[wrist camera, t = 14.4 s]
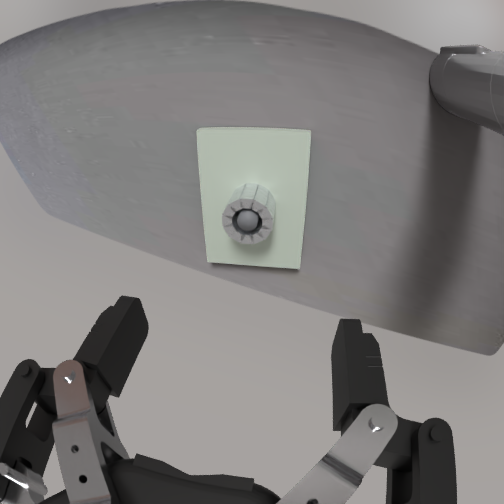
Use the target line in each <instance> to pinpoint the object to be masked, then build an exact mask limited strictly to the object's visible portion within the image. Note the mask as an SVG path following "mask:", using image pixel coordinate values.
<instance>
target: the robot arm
mask: <svg viewBox="0 0 504 504" xmlns="http://www.w3.org/2000/svg"><path fill="white" fill-rule="evenodd" d="M440 50H441V51H440V55H439V56H438V57H437V58H436V59H435V60H434V62H433V64H432V66H431V70H430V85H431V89H432V92H433V94H434V96H435V98H436V100H437V101H438V103H439V104H440V105H441V106H442V107H443V108H444V109H445V110H446V111H448V112H449V113H451V114H454V115H456V116H458V117H461V118H464V119H467V120H469V121H472V122H474V123H477V124H479V125H481V126H484V127H486V128H488V129H491V130H493V131H495V132H497V133H499V134H502V135H504V52H497V51H491V50H489V49H487V48H485V47H483V46H480V45H461V46H447V47H441V49H440ZM147 334H148V321H147V318H146V316H145V313H144V310H143V307H142V304H141V301H140V299H139V298H135V297H128V296H121V297H120V298H119V299H118V301H117V302H116V304H115V305H114V306H110V307H108V308H107V309H106V310H105V311H104V312H103V313H101V315H100V316H99V318H98V319H97V321H96V324H95V325H94V326H93V327H92V329H91V332H89V334H88V335H87V337H86V339H85V340H84V342H83V344H82V345H81V347H80V349H79V350H78V352H77V354H76V356H75V357H74V358H73V360H66V361H64V362H62V363H61V364H59V365H58V366H57V368H40V366H39V365H38V364H37V362H36V361H34V360H32V359H27V360H24V361H22V362H21V363H20V364H19V365H18V366H17V367H16V369H15V371H14V372H13V374H12V376H11V378H10V380H9V382H8V384H7V386H6V388H5V389H4V391H3V393H2V395H1V397H0V504H345V502H346V501H347V500H348V499H349V498H350V497H351V496H352V494H353V493H354V492H355V491H356V489H357V488H358V487H359V485H360V484H361V482H362V478H363V477H364V475H365V474H366V473H367V472H368V470H369V469H370V467H371V466H372V465H376V466H380V467H384V468H387V492H386V493H387V494H386V504H457V487H456V486H457V485H456V468H455V467H456V466H455V454H454V445H453V436H452V430H451V428H450V426H449V425H448V423H447V422H446V421H444V420H442V419H440V418H431V419H428V420H427V421H425V422H424V423H418V422H414V421H410V420H406V419H403V418H401V417H399V416H397V415H396V414H395V413H394V411H393V410H392V409H391V408H390V406H389V403H388V397H387V391H386V383H385V377H384V371H383V368H382V359H381V354H380V348H379V344H378V342H377V341H376V339H375V338H374V336H373V335H372V333H363V332H362V325H361V321H360V320H359V319H340V321H339V324H338V328H337V331H336V335H335V338H334V342H333V345H332V354H331V361H332V388H333V431H341V438H340V439H339V440H338V441H337V443H336V444H335V445H334V446H333V447H332V448H331V450H330V451H329V452H328V453H327V454H326V455H325V456H324V457H323V458H322V459H321V460H320V461H319V462H318V463H317V464H316V465H315V466H314V467H313V468H312V469H311V471H310V472H309V473H308V474H307V475H306V476H305V477H304V478H303V479H302V480H301V481H300V482H299V483H298V484H297V485H296V486H295V487H294V488H293V489H292V490H291V491H289V492H288V493H287V494H286V495H285V496H284V497H283V498H282V499H281V498H280V497H279V496H277V495H276V494H275V493H274V492H272V491H270V490H268V489H267V488H265V487H263V486H261V485H258V484H255V483H254V479H253V478H245V477H237V476H230V475H223V474H222V475H188V474H186V473H184V472H182V471H180V470H178V469H176V468H174V467H172V466H171V465H169V464H167V463H165V462H163V461H160V460H156V459H153V458H150V457H146V456H143V455H140V454H136V456H135V459H130V458H129V456H128V453H127V452H126V449H125V448H124V446H123V445H122V443H121V441H120V439H119V436H118V433H117V430H116V427H115V424H114V420H113V417H112V413H111V410H110V406H109V403H108V401H107V400H108V397H109V395H112V396H115V397H119V396H120V394H121V392H122V389H123V387H124V384H125V383H126V380H127V378H128V376H129V374H130V372H131V369H132V367H133V365H134V363H135V361H136V358H137V356H138V354H139V352H140V350H141V348H142V346H143V343H144V341H145V339H146V337H147ZM34 402H36V404H37V406H36V408H35V411H34V413H33V415H32V418H31V420H30V422H29V424H28V427H27V428H26V419H27V417H28V415H29V412H30V410H31V408H32V406H33V403H34ZM54 442H55V445H56V450H57V455H58V460H59V464H60V469H61V473H62V476H63V480H64V484H65V487H66V489H65V490H63V491H61V492H59V493H57V494H55V495H53V496H51V497H49V498H47V499H46V500H44V495H46V494H47V487H46V486H45V485H44V482H43V479H42V477H43V474H44V471H45V468H46V465H47V462H48V459H49V456H50V453H51V451H52V448H53V445H54Z"/></svg>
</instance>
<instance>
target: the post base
mask: <svg viewBox="0 0 504 504" xmlns="http://www.w3.org/2000/svg"><path fill="white" fill-rule="evenodd" d="M310 143H311V131H310V130H302V129H286V128H260V127H207V128H200V129H198V130H197V148H198V162H199V176H200V189H201V201H202V212H203V223H204V233H205V243H206V253H207V262H213V263H226V264H239V265H252V266H265V267H279V268H292V269H300V261H301V252H302V242H303V232H304V222H305V211H306V199H307V187H308V173H309V159H310ZM247 183H253V184H258V185H259V184H260V185H262V186H263V187H265V188H267V189H269V191H270V192H271V193H272V195H273V197H274V199H275V215H274V222H273V229H272V231H271V232H270V234H269V235H268V236H267V238H266V239H265V240H263V241H261V242H258V243H256V244H242V243H239V242H237V241H236V240H234V239H232V238H230V237H229V236H228V234H227V233H226V231H225V230H224V228H223V226H222V214H223V211H224V209H225V207H226V205H227V203H228V201H229V199H230V197H231V196H232V194H233V192H234V191H235V189H236V188H238V187H240V186H242V185H244V184H247ZM258 219H259V213H258V212H256V211H254V210H252V209H247V208H242V209H241V211H240V213H239V216H238V219H237V224H238V226H239V227H240V228H241V229H242V230H245V231H251V230H253V229H255V228H256V226H257V223H258Z"/></svg>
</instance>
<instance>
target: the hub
mask: <svg viewBox="0 0 504 504" xmlns="http://www.w3.org/2000/svg"><path fill="white" fill-rule="evenodd" d="M242 208H247V209H252V210H254V211H256V212H258V213H259V219H258V223H257V226H256V228H255V229H253V230H251V231H245V230H242V229H241V228H240V227H239V226H238V224H237V219H238V216H239V213H240V211H241V209H242ZM274 215H275V199H274V197H273V195H272V193H271V192H270V191H269V189H267V188H265V187H263V186H262V185H260V184H259V185H258V184H253V183H247V184H244V185H242V186H240V187H238V188H236V189H235V191H234V192H233V194H232V196H231V197H230V199H229V201H228V203H227V205H226V207H225V209H224V211H223V214H222V226H223V228H224V230H225V231H226V233H227V234H228V236H229V237H230V238H232V239H234V240H236V241H237V242H239V243H242V244H256V243H258V242H261V241H263V240H265V239H266V238H267V236H268V235H269V234H270V232H271V231H272V229H273V222H274Z"/></svg>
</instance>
